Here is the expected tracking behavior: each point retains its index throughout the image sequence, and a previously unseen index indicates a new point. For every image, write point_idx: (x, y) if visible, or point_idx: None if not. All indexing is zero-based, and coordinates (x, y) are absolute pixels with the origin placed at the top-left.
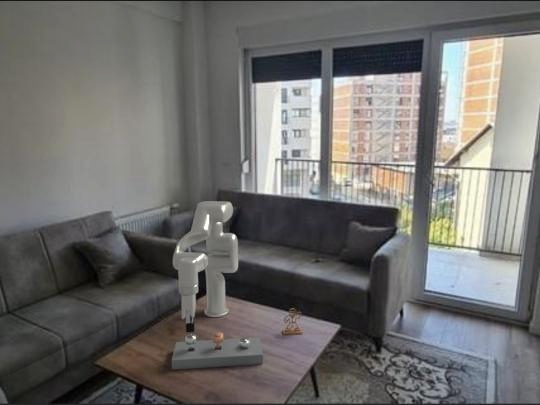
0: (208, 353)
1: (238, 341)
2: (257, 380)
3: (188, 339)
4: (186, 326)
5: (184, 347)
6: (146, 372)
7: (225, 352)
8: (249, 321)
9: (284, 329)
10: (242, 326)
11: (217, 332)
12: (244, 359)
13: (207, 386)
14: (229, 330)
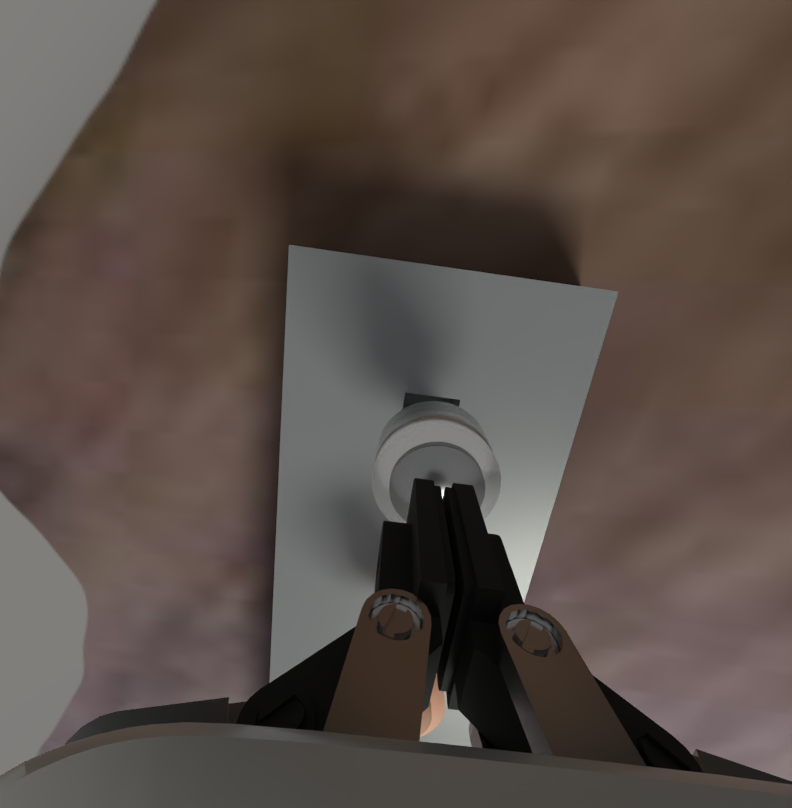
0: (338, 537)
1: (447, 714)
2: (143, 682)
3: (377, 456)
4: (417, 540)
5: (483, 367)
6: (306, 8)
7: (327, 633)
8: (758, 754)
9: None
10: (716, 715)
11: (428, 718)
12: None
13: (98, 466)
14: (705, 648)
